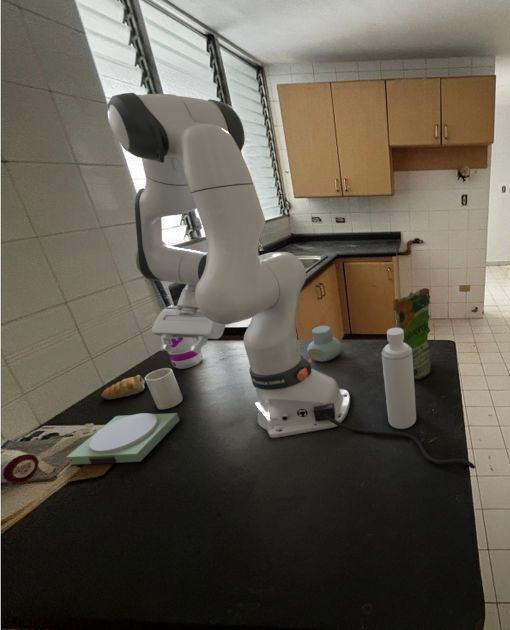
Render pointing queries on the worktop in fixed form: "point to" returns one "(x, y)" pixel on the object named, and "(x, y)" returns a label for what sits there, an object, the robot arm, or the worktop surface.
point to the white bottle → (399, 380)
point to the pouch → (415, 328)
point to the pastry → (124, 388)
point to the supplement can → (183, 352)
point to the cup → (164, 388)
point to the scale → (124, 439)
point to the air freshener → (323, 344)
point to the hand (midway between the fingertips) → (179, 352)
